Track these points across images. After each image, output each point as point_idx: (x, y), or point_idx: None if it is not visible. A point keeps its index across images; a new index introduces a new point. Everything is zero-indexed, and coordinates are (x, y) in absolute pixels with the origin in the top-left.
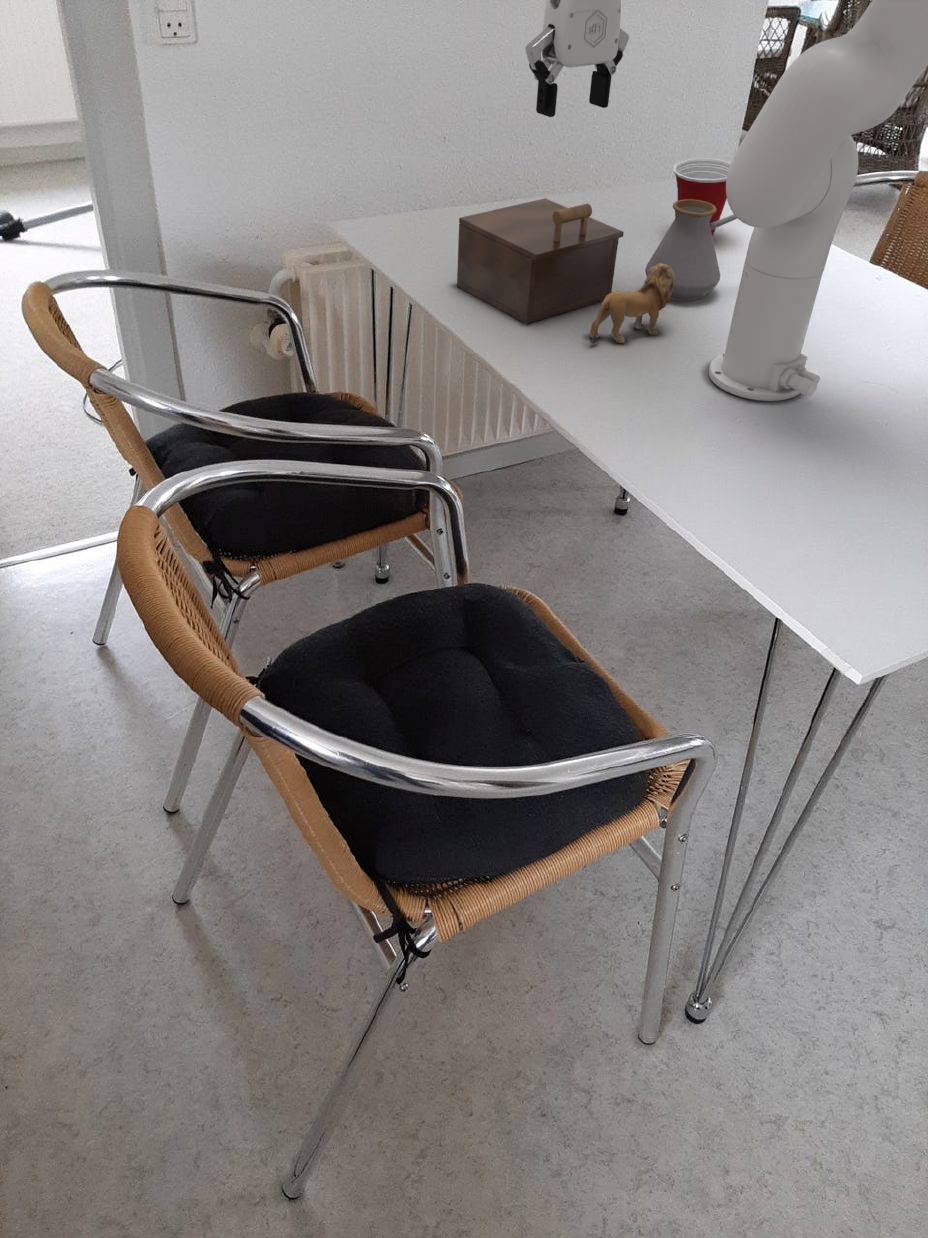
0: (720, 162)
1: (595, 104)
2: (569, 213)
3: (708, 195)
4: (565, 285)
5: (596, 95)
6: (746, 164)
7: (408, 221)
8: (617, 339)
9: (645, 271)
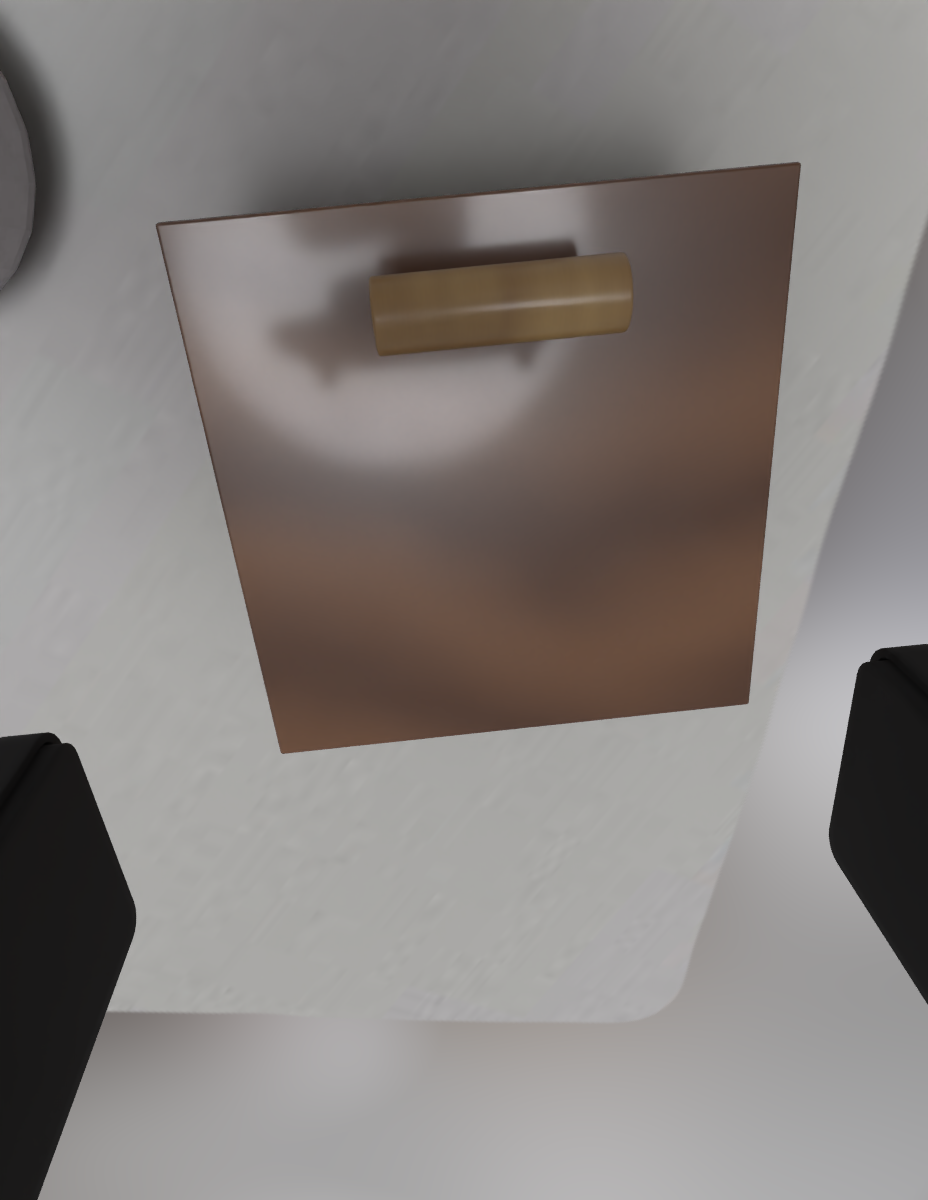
0: None
1: (110, 842)
2: (555, 268)
3: None
4: None
5: (78, 915)
6: None
7: (489, 983)
8: None
9: (20, 261)
